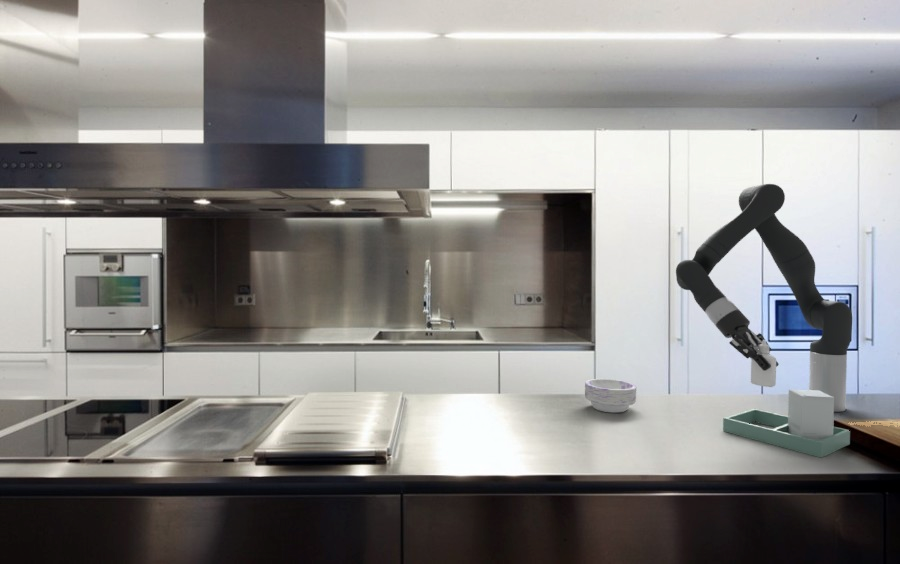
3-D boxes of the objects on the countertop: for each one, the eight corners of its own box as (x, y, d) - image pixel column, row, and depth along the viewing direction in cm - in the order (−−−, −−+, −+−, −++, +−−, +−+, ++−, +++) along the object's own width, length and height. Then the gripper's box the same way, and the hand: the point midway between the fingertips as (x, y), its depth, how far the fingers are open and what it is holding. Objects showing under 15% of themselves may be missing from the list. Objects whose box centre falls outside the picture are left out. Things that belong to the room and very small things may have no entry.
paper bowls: (646, 410, 159) (646, 384, 158) (614, 419, 150) (614, 392, 150) (606, 399, 171) (606, 375, 171) (574, 407, 163) (574, 382, 162)
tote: (753, 420, 148) (753, 408, 148) (849, 444, 129) (850, 430, 129) (723, 430, 139) (723, 418, 139) (821, 457, 120) (821, 442, 120)
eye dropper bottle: (762, 382, 141) (763, 338, 141) (778, 387, 136) (779, 341, 135) (748, 382, 141) (749, 338, 140) (763, 387, 135) (764, 342, 134)
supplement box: (834, 449, 125) (835, 397, 124) (799, 447, 126) (801, 395, 126) (818, 439, 132) (820, 389, 132) (786, 437, 134) (787, 388, 133)
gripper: (722, 310, 140) (769, 362, 130) (749, 307, 147) (795, 356, 138) (703, 327, 144) (747, 379, 135) (730, 324, 152) (773, 372, 142)
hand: (771, 367), depth 136 cm, fingers closed on eye dropper bottle, 3 cm apart
